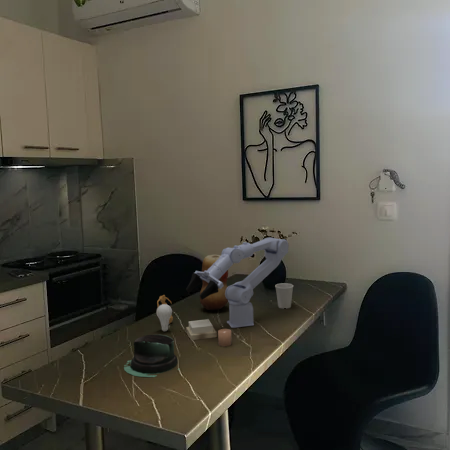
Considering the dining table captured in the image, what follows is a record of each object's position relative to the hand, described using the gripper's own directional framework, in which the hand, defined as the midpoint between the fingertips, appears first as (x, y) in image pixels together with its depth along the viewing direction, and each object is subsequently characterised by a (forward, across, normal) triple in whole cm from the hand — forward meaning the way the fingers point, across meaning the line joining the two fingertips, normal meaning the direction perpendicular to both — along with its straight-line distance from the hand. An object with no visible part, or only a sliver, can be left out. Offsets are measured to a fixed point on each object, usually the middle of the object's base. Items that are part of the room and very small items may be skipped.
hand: (194, 294), depth 179 cm
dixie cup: (-35, +6, +43) cm, 56 cm away
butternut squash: (-14, -16, +33) cm, 39 cm away
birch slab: (+6, +2, +17) cm, 18 cm away
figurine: (+8, -19, +19) cm, 28 cm away
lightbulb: (+14, -11, +14) cm, 23 cm away
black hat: (+30, +11, -1) cm, 32 cm away
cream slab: (+5, +2, +15) cm, 16 cm away
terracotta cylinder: (+6, +16, +13) cm, 22 cm away
